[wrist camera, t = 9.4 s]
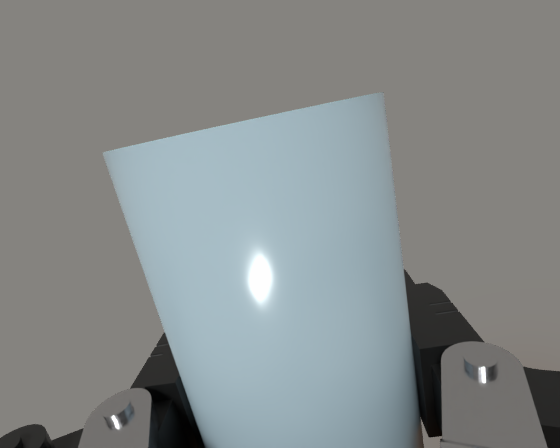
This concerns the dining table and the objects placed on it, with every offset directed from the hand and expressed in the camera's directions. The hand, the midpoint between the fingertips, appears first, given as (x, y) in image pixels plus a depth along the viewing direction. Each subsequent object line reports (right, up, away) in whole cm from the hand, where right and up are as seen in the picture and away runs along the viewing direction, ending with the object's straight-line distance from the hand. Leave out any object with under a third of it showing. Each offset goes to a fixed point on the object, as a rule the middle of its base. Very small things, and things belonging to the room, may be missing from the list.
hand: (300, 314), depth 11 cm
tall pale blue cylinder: (+1, -7, 0) cm, 8 cm away
